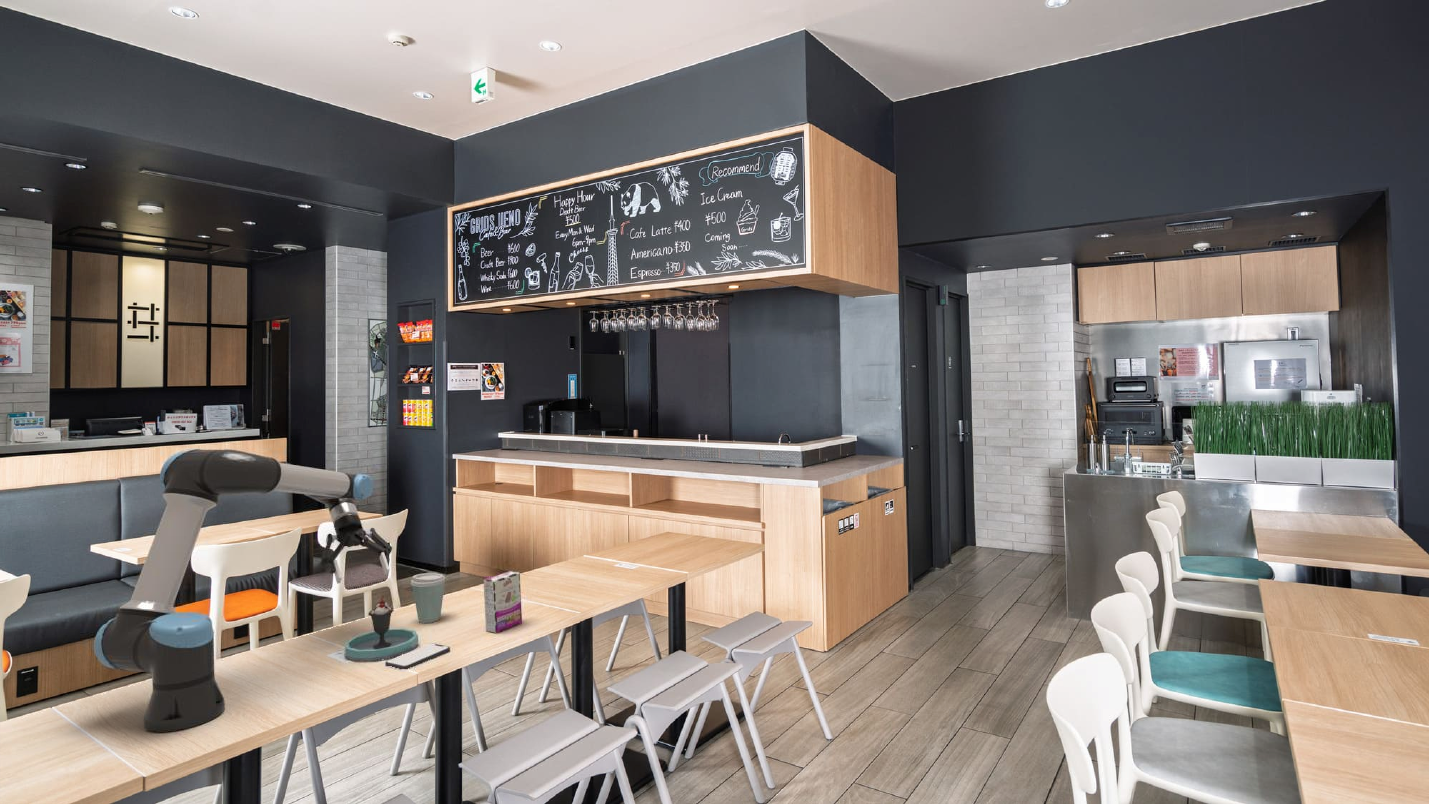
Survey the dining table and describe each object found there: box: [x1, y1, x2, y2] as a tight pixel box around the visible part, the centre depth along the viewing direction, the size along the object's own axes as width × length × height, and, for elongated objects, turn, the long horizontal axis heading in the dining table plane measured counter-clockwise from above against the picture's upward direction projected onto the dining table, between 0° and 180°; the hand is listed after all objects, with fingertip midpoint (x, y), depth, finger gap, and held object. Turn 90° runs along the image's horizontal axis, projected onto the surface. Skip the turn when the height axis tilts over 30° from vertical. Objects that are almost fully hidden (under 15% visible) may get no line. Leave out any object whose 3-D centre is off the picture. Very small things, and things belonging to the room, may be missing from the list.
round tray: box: [344, 628, 419, 662], centre depth 212 cm, size 19×19×3 cm
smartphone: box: [384, 643, 451, 670], centre depth 204 cm, size 9×2×16 cm
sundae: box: [368, 595, 395, 649], centre depth 212 cm, size 7×7×15 cm
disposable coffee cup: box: [410, 572, 446, 624], centre depth 238 cm, size 11×11×15 cm
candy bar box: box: [483, 570, 523, 634], centre depth 229 cm, size 11×5×16 cm, turn 150°
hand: (364, 576), depth 219 cm, fingers open, 13 cm apart
